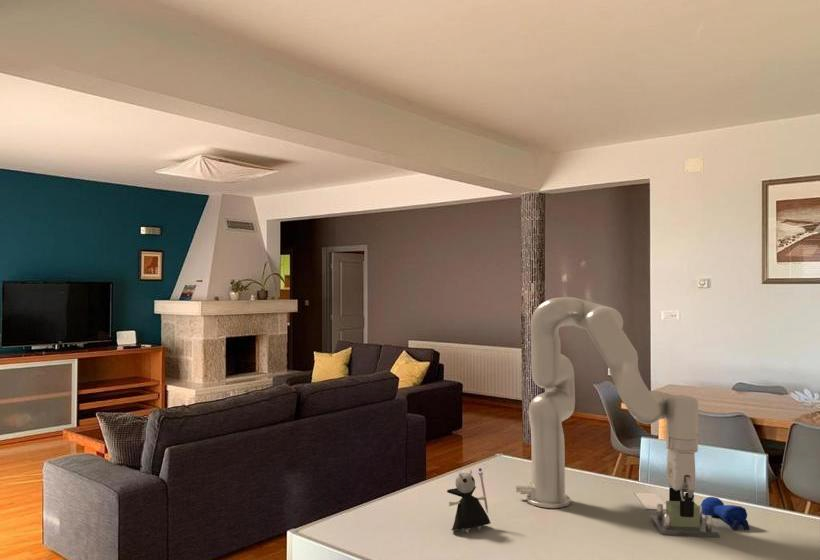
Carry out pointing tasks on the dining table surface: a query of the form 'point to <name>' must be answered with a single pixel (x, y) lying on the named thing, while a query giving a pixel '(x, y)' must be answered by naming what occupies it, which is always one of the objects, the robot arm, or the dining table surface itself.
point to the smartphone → (650, 500)
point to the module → (679, 521)
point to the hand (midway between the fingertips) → (681, 509)
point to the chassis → (666, 529)
